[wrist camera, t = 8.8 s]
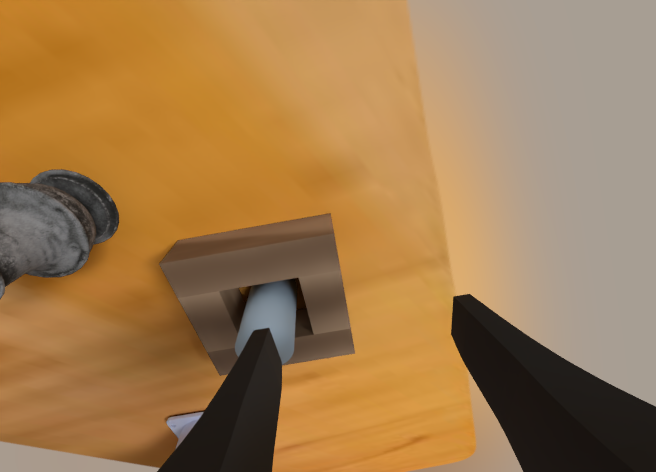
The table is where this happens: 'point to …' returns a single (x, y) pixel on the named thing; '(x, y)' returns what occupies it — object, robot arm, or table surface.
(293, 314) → the peg
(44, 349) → the table surface
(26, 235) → the dark grey chess piece
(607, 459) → the robot arm
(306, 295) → the socket block
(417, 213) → the table surface
